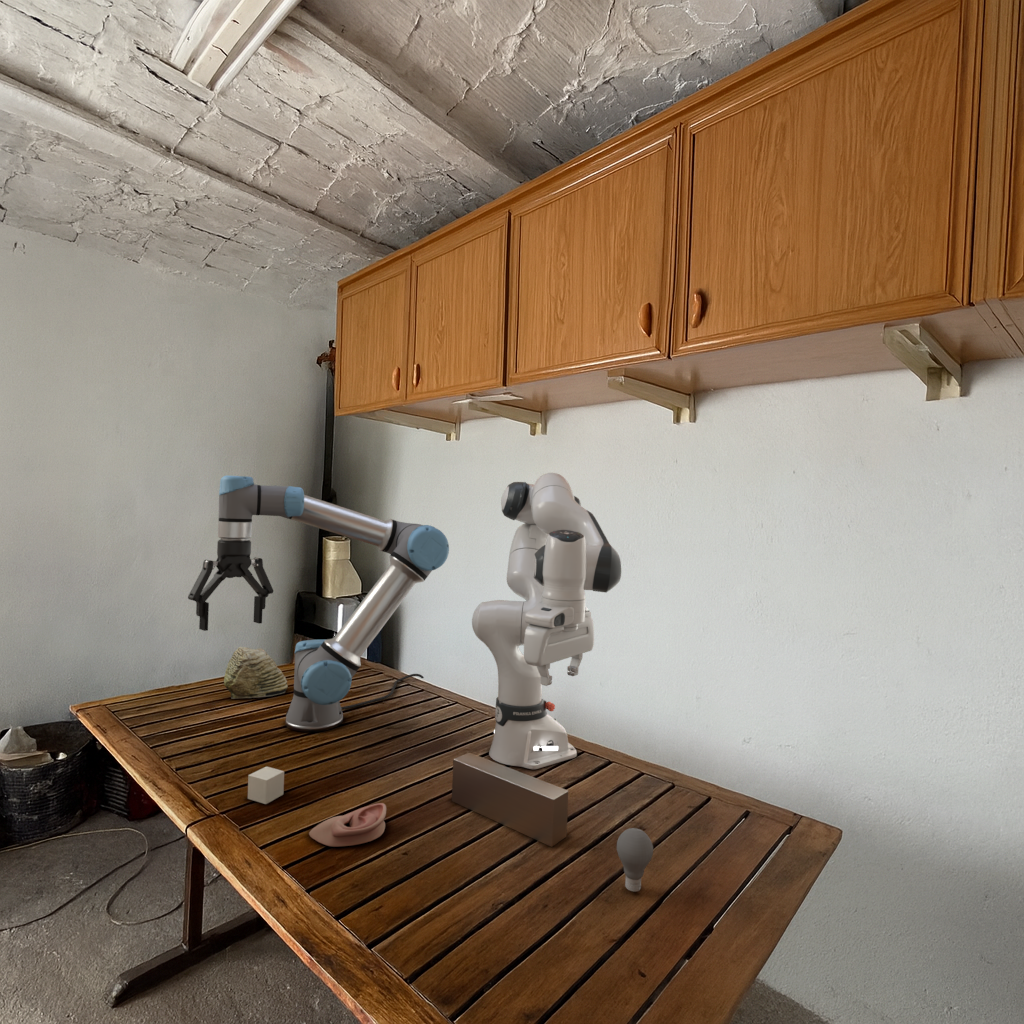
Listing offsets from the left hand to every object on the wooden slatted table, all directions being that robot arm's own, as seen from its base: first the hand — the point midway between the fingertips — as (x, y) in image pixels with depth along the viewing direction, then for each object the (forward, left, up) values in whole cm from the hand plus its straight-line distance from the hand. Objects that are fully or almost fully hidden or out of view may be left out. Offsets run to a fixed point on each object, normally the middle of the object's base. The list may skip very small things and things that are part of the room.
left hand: (231, 626), depth 154 cm
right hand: (-28, +78, -2) cm, 83 cm away
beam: (-22, +70, -31) cm, 80 cm away
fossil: (-27, -35, -31) cm, 54 cm away
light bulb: (-18, +101, -31) cm, 107 cm away
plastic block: (+6, +28, -31) cm, 42 cm away
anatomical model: (+3, +52, -31) cm, 60 cm away
